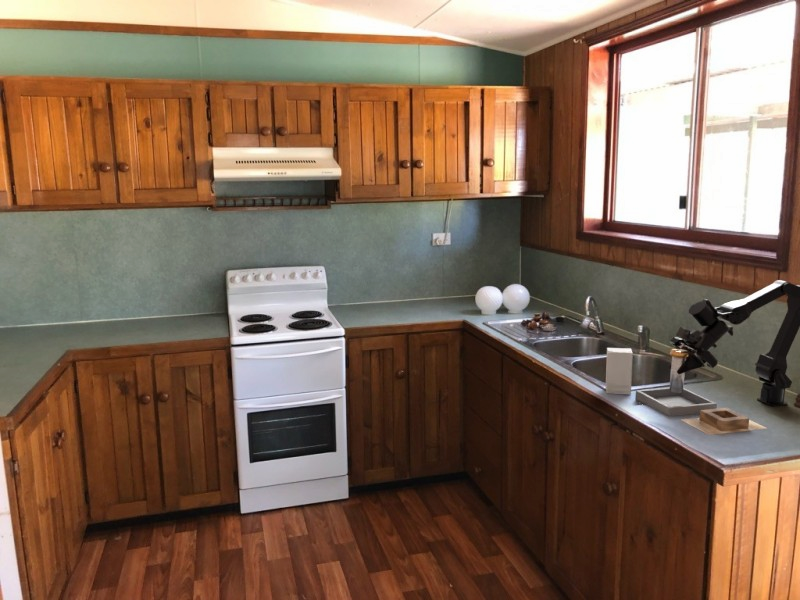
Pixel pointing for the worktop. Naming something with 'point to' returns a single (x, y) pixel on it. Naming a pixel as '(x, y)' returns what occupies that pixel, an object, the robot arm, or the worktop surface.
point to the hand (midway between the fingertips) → (673, 371)
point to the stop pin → (677, 362)
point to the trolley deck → (714, 431)
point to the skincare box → (619, 370)
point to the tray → (674, 401)
